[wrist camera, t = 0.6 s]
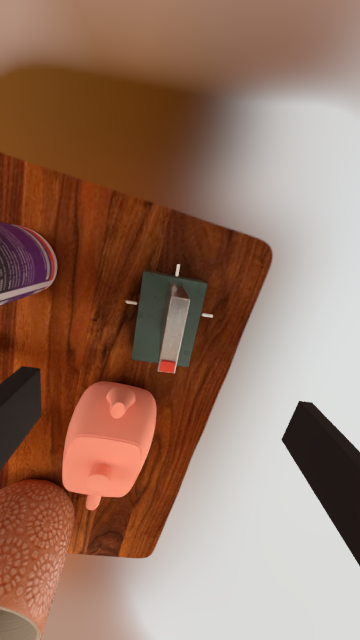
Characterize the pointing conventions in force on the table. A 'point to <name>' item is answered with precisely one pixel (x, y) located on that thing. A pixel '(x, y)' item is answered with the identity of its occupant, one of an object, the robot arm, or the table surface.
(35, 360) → the table surface
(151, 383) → the table surface
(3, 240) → the pill bottle
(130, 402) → the teapot
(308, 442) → the robot arm
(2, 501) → the planter
